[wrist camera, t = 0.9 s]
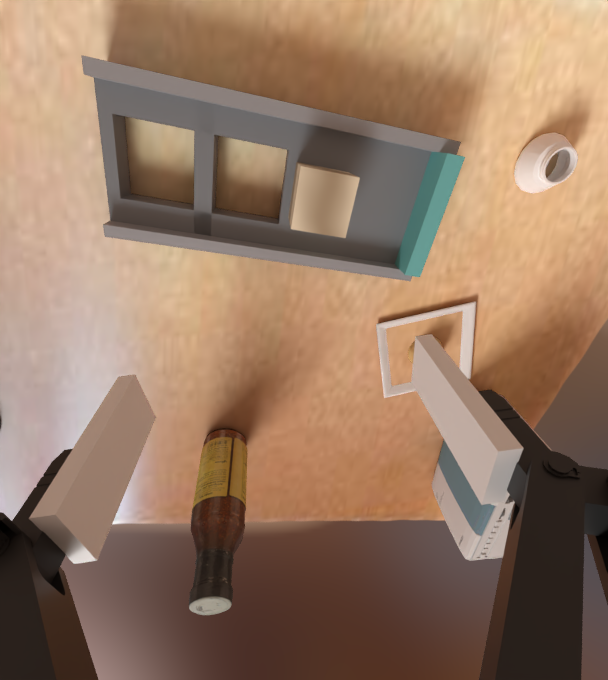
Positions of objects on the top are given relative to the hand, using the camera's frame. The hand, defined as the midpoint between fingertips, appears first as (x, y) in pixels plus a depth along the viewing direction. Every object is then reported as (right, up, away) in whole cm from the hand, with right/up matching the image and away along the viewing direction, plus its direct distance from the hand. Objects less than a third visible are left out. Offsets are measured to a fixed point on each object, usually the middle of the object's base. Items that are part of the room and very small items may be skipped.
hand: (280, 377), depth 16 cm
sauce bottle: (-10, -13, +32) cm, 36 cm away
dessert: (+17, +1, +27) cm, 32 cm away
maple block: (+2, +15, +13) cm, 20 cm away
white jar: (+24, +19, +16) cm, 34 cm away
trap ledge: (-1, +16, +15) cm, 22 cm away
